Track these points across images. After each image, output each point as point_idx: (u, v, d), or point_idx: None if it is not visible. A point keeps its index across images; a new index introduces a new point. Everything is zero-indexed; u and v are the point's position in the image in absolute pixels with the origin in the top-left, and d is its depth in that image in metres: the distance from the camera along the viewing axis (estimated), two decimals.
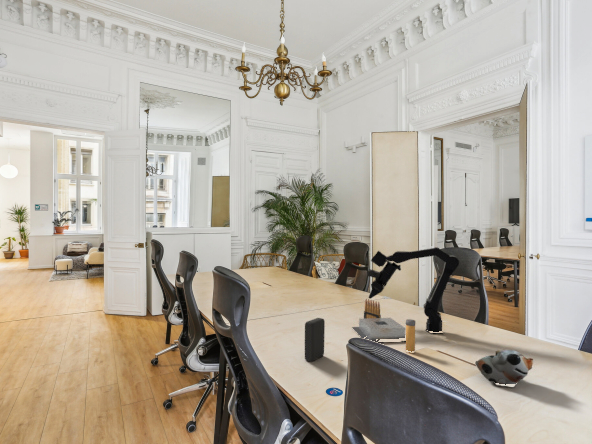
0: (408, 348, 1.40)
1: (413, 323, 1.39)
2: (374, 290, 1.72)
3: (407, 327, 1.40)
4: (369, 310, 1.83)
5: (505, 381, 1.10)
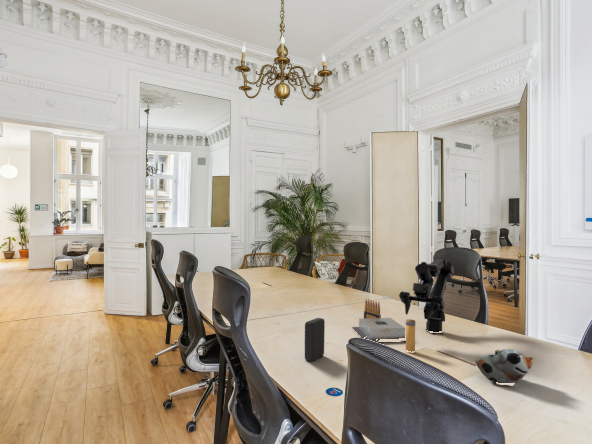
0: (408, 348, 1.40)
1: (413, 323, 1.39)
2: (433, 308, 1.46)
3: (407, 327, 1.40)
4: (369, 310, 1.83)
5: (505, 380, 1.11)
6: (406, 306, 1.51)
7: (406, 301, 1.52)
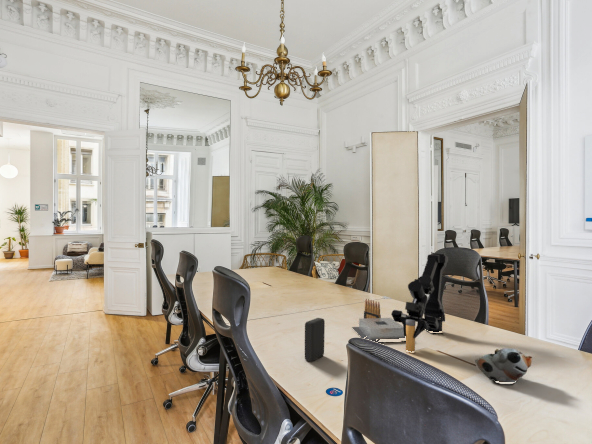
0: (408, 348, 1.39)
1: (413, 323, 1.39)
2: (420, 327, 1.41)
3: (407, 327, 1.40)
4: (369, 310, 1.83)
5: (506, 379, 1.12)
6: (404, 327, 1.42)
7: (404, 322, 1.44)
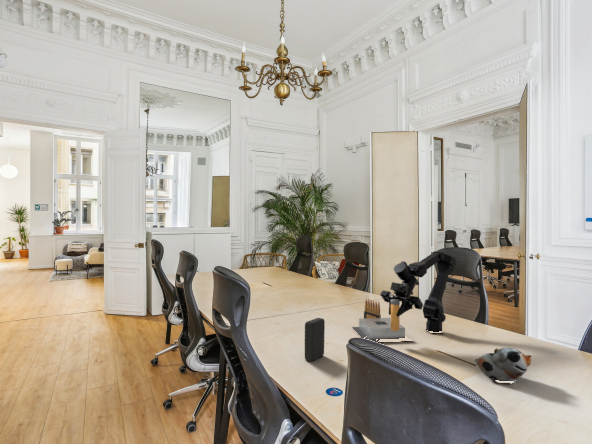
0: (392, 326, 1.47)
1: (396, 302, 1.46)
2: (404, 306, 1.47)
3: (391, 306, 1.48)
4: (369, 310, 1.83)
5: (506, 378, 1.13)
6: (390, 306, 1.50)
7: None
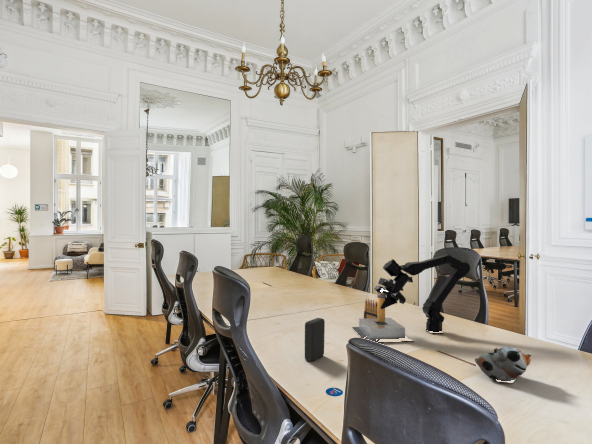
0: (377, 317, 1.62)
1: (381, 296, 1.60)
2: (389, 300, 1.60)
3: (377, 299, 1.62)
4: (369, 310, 1.83)
5: (506, 378, 1.13)
6: None
7: None
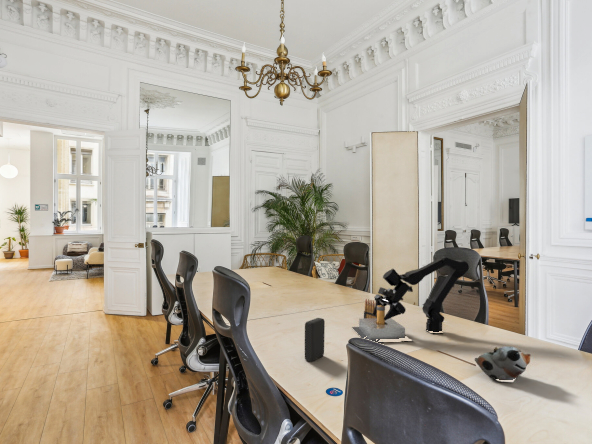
0: None
1: (380, 308, 1.60)
2: (392, 311, 1.57)
3: (377, 311, 1.62)
4: (369, 310, 1.83)
5: (506, 377, 1.14)
6: (375, 307, 1.67)
7: (377, 303, 1.68)
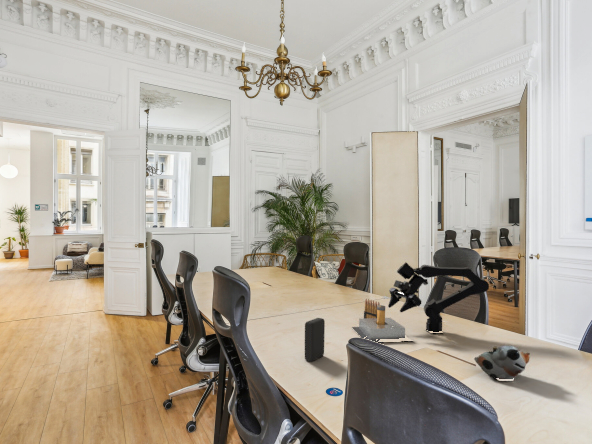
0: None
1: (381, 308, 1.60)
2: (408, 304, 1.60)
3: (377, 311, 1.62)
4: (369, 310, 1.83)
5: (505, 376, 1.14)
6: (390, 300, 1.70)
7: (392, 296, 1.71)
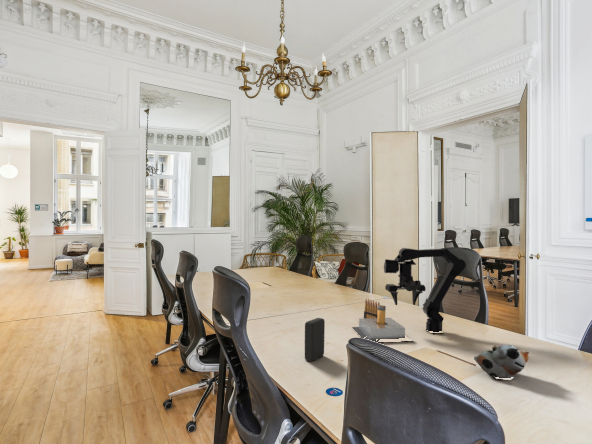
0: None
1: (381, 308, 1.60)
2: None
3: None
4: (369, 310, 1.83)
5: (505, 375, 1.15)
6: (396, 299, 1.66)
7: (396, 294, 1.65)
